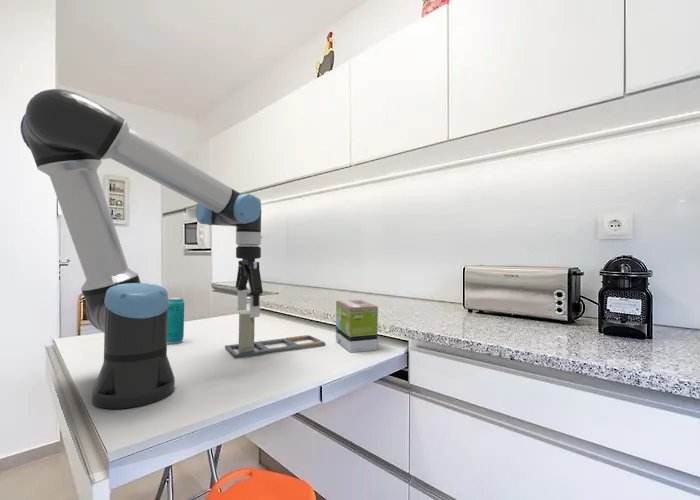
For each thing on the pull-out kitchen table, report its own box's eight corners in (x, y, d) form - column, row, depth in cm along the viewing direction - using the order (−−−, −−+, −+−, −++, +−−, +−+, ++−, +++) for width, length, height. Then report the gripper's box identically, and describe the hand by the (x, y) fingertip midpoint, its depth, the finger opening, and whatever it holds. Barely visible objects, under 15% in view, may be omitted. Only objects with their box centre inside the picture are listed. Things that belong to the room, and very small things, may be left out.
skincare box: (254, 353, 107) (255, 313, 107) (239, 354, 105) (240, 314, 105) (252, 348, 113) (253, 310, 113) (238, 349, 111) (239, 310, 111)
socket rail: (325, 345, 118) (325, 342, 118) (234, 358, 101) (234, 354, 101) (309, 337, 128) (309, 334, 128) (225, 348, 111) (225, 345, 111)
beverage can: (166, 340, 120) (167, 297, 120) (184, 339, 121) (185, 296, 122) (162, 345, 114) (163, 299, 114) (181, 344, 116) (183, 299, 116)
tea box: (334, 341, 124) (335, 299, 124) (360, 339, 127) (361, 299, 127) (349, 353, 110) (350, 306, 110) (378, 350, 113) (379, 305, 113)
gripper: (274, 246, 101) (273, 318, 101) (248, 246, 122) (248, 306, 122) (248, 245, 97) (247, 321, 97) (226, 245, 118) (226, 308, 118)
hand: (248, 313), depth 110 cm, fingers open, 13 cm apart
